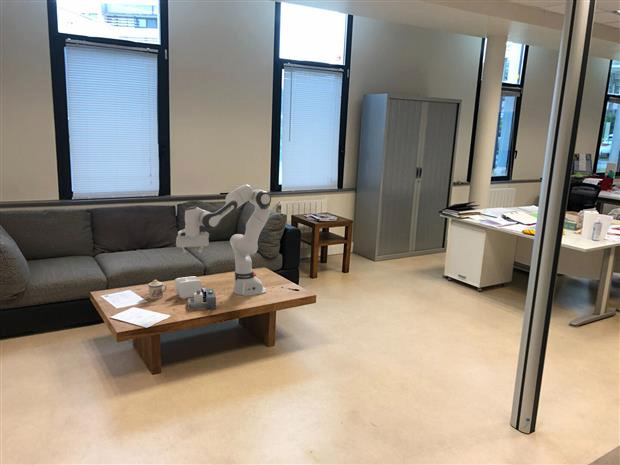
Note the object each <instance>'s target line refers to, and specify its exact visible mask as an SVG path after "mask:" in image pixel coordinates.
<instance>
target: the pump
mask: <svg viewBox="0 0 620 465" xmlns="http://www.w3.org/2000/svg"><path fill="white" fill-rule="evenodd" d="M203 297H204V294H203V292H202V291H201V292H200V290H197V291H196V293H194V297H193V298H194V303H203Z"/></svg>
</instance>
